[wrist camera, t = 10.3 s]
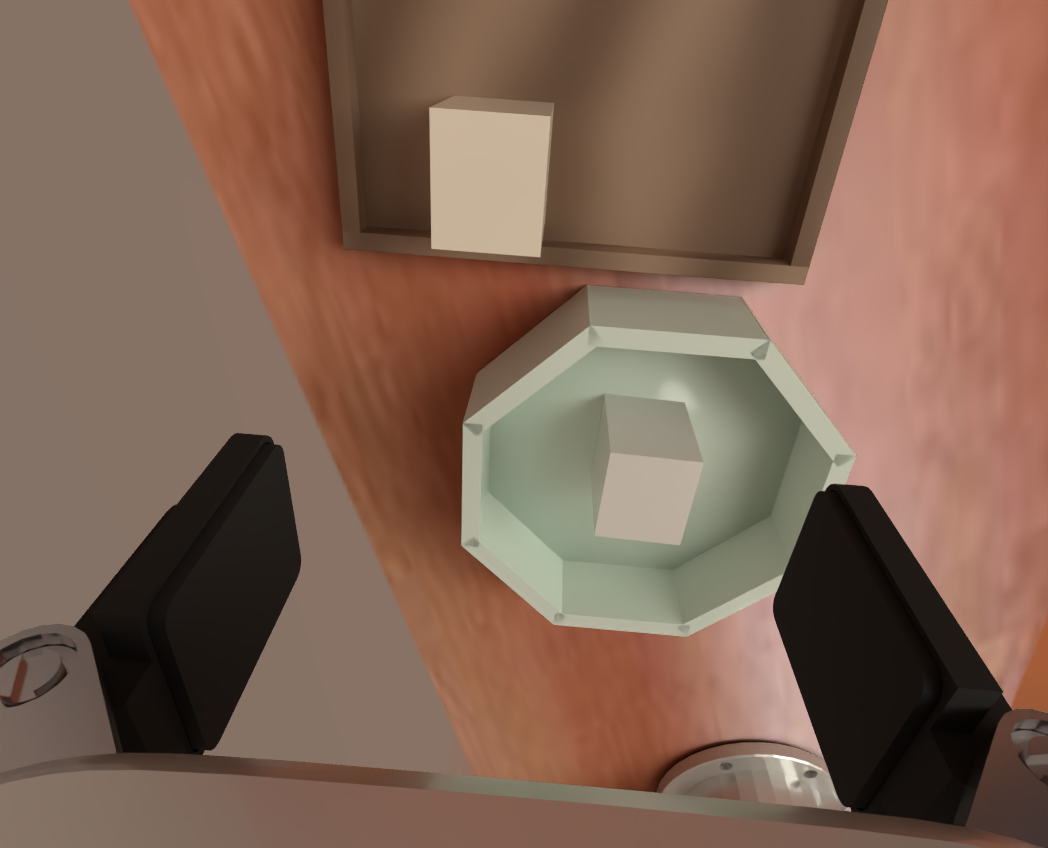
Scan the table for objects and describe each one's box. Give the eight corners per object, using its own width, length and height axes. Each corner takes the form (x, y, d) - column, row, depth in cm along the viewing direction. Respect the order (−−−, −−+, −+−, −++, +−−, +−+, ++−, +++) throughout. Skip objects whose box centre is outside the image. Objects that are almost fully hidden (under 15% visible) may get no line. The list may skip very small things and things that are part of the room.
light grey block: (684, 402, 29) (703, 462, 24) (665, 477, 31) (680, 545, 27) (604, 393, 29) (610, 452, 25) (590, 469, 31) (594, 535, 27)
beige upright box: (554, 102, 23) (550, 116, 19) (545, 221, 25) (540, 257, 21) (454, 95, 23) (429, 107, 19) (453, 214, 25) (431, 249, 21)
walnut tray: (922, -190, 19) (949, -208, 18) (791, 272, 26) (803, 285, 25) (320, -228, 19) (300, -249, 18) (355, 238, 27) (343, 249, 25)
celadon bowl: (851, 305, 27) (898, 349, 23) (757, 578, 35) (781, 645, 31) (479, 276, 27) (463, 315, 23) (472, 553, 35) (460, 616, 31)
